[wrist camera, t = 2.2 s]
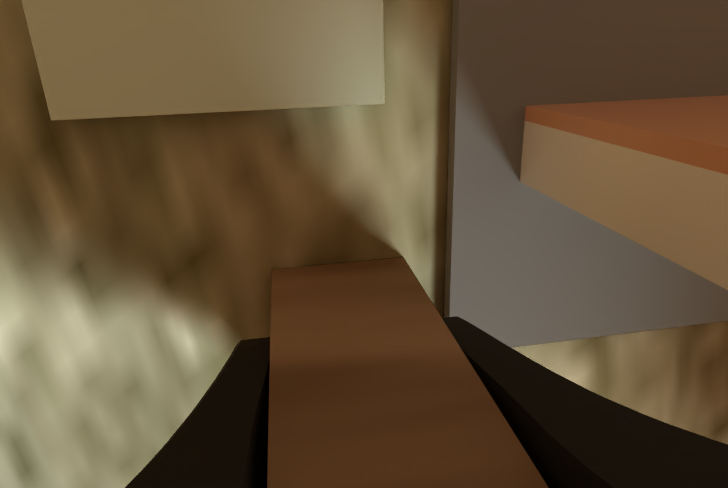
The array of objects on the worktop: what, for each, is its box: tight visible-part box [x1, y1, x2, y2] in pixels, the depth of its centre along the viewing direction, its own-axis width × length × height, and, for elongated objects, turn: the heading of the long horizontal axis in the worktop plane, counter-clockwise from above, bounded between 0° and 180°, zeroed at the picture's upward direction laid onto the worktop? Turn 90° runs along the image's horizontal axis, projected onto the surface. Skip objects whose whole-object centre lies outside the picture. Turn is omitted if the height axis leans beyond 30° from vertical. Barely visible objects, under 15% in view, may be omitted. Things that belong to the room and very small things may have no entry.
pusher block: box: [267, 257, 548, 488], centre depth 8 cm, size 3×3×8 cm
